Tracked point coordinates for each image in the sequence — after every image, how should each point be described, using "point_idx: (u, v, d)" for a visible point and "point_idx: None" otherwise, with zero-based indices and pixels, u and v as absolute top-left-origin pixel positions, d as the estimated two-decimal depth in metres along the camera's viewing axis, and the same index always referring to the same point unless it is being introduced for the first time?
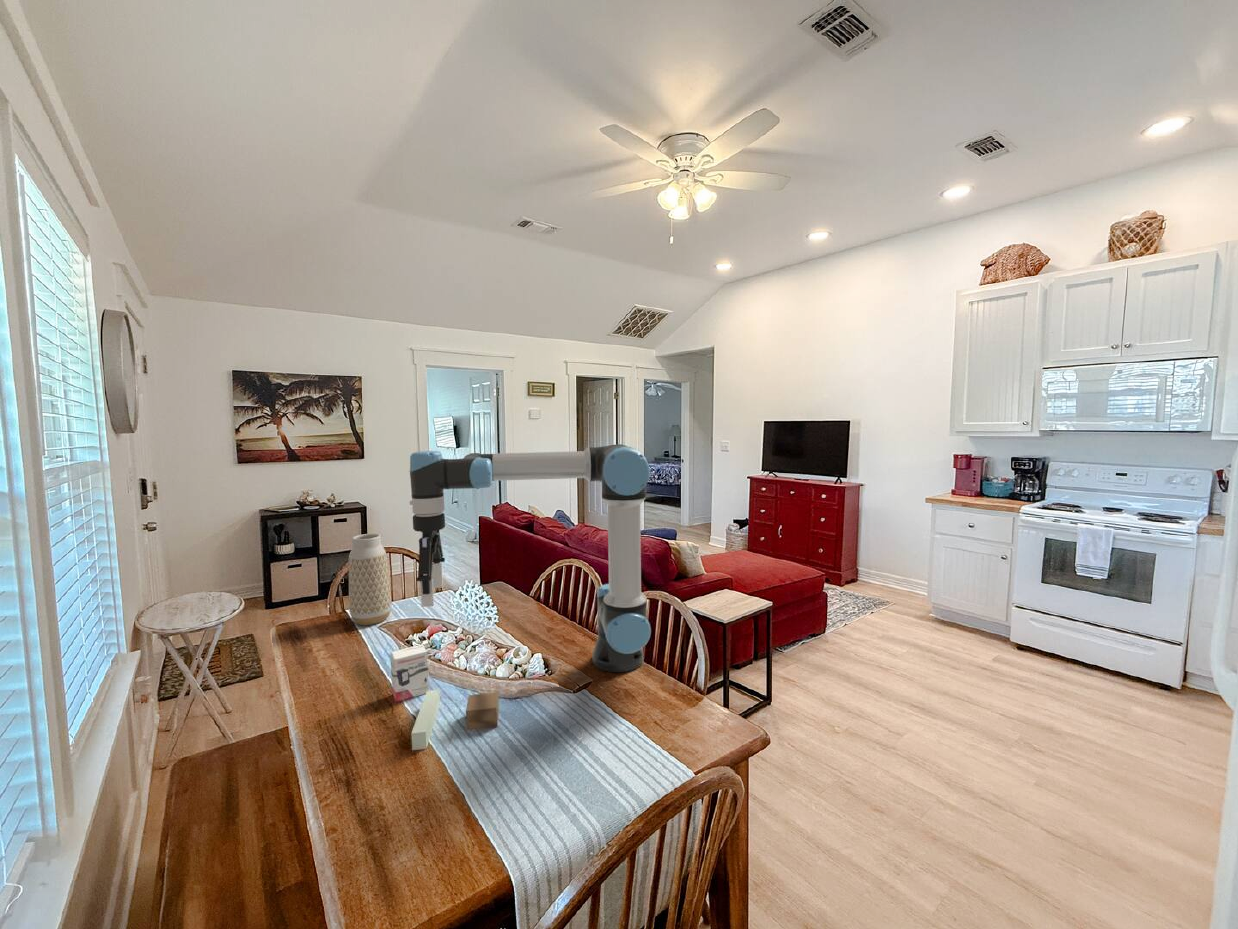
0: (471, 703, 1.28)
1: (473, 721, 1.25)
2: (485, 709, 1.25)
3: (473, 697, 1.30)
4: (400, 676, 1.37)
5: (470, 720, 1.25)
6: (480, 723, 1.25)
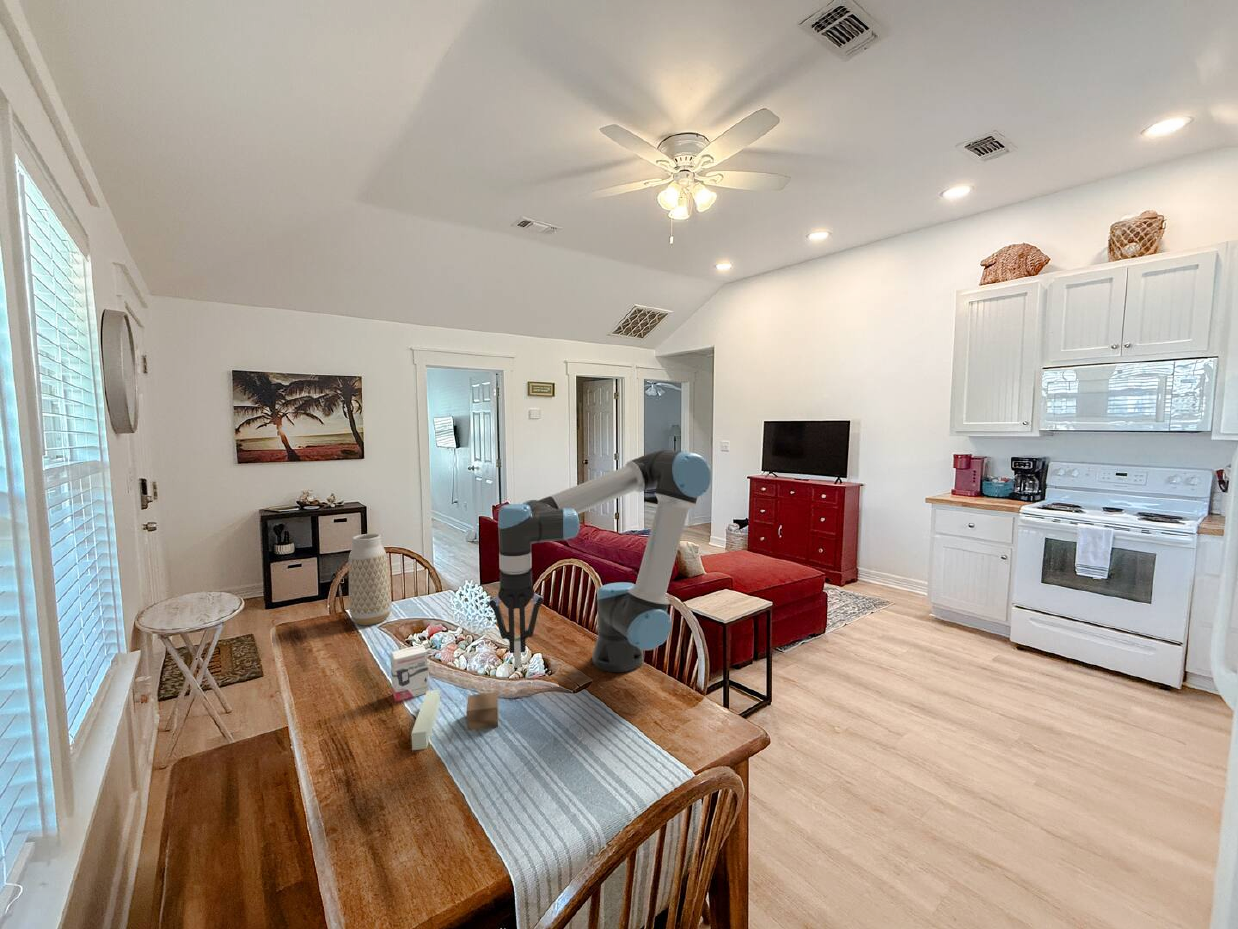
0: (471, 703, 1.28)
1: (474, 721, 1.25)
2: (486, 709, 1.25)
3: (473, 697, 1.30)
4: (400, 676, 1.37)
5: (471, 720, 1.25)
6: (481, 723, 1.25)
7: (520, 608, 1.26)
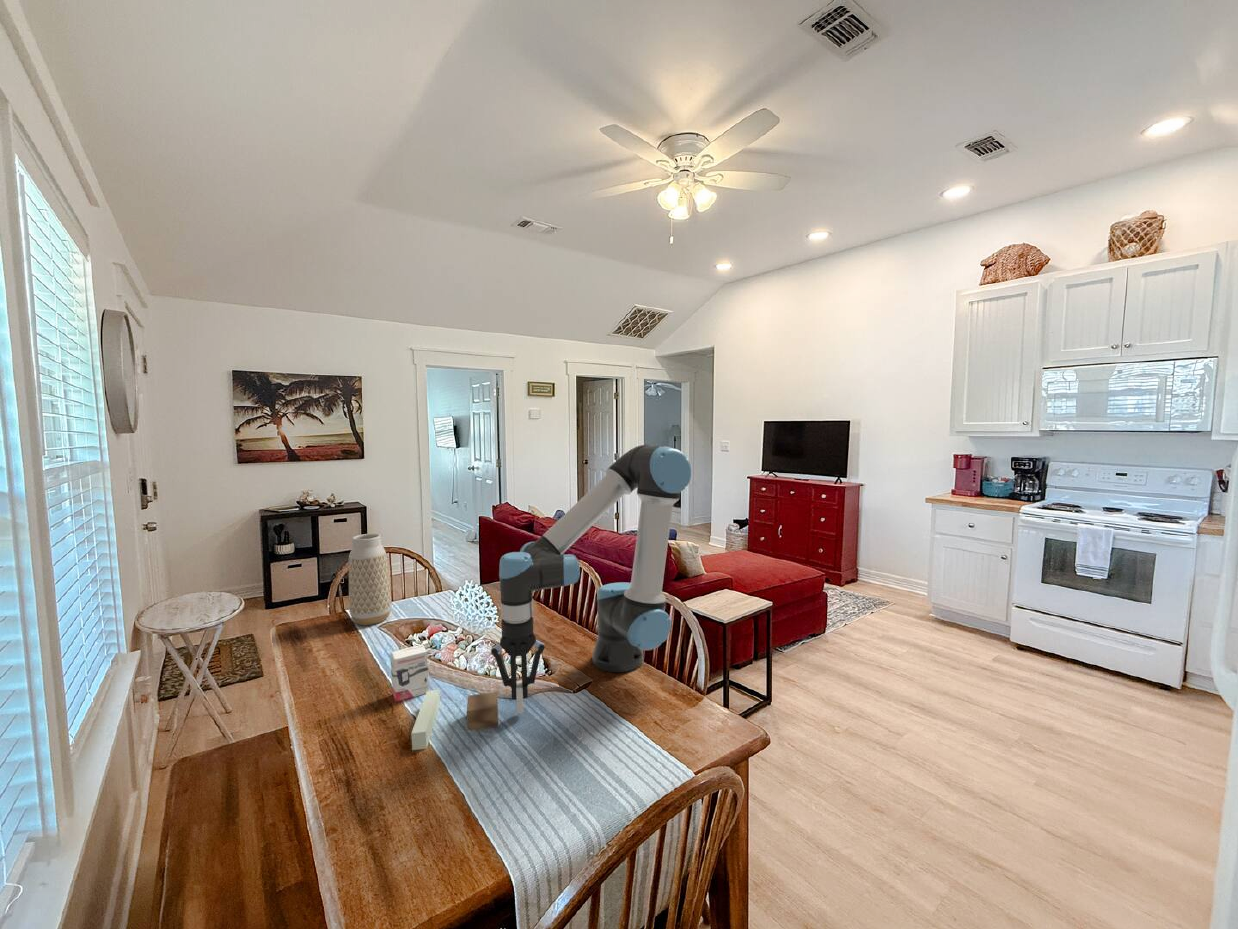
0: (471, 703, 1.28)
1: (474, 721, 1.25)
2: (486, 709, 1.25)
3: (472, 697, 1.30)
4: (400, 676, 1.37)
5: (471, 720, 1.25)
6: (481, 723, 1.25)
7: (522, 656, 1.27)
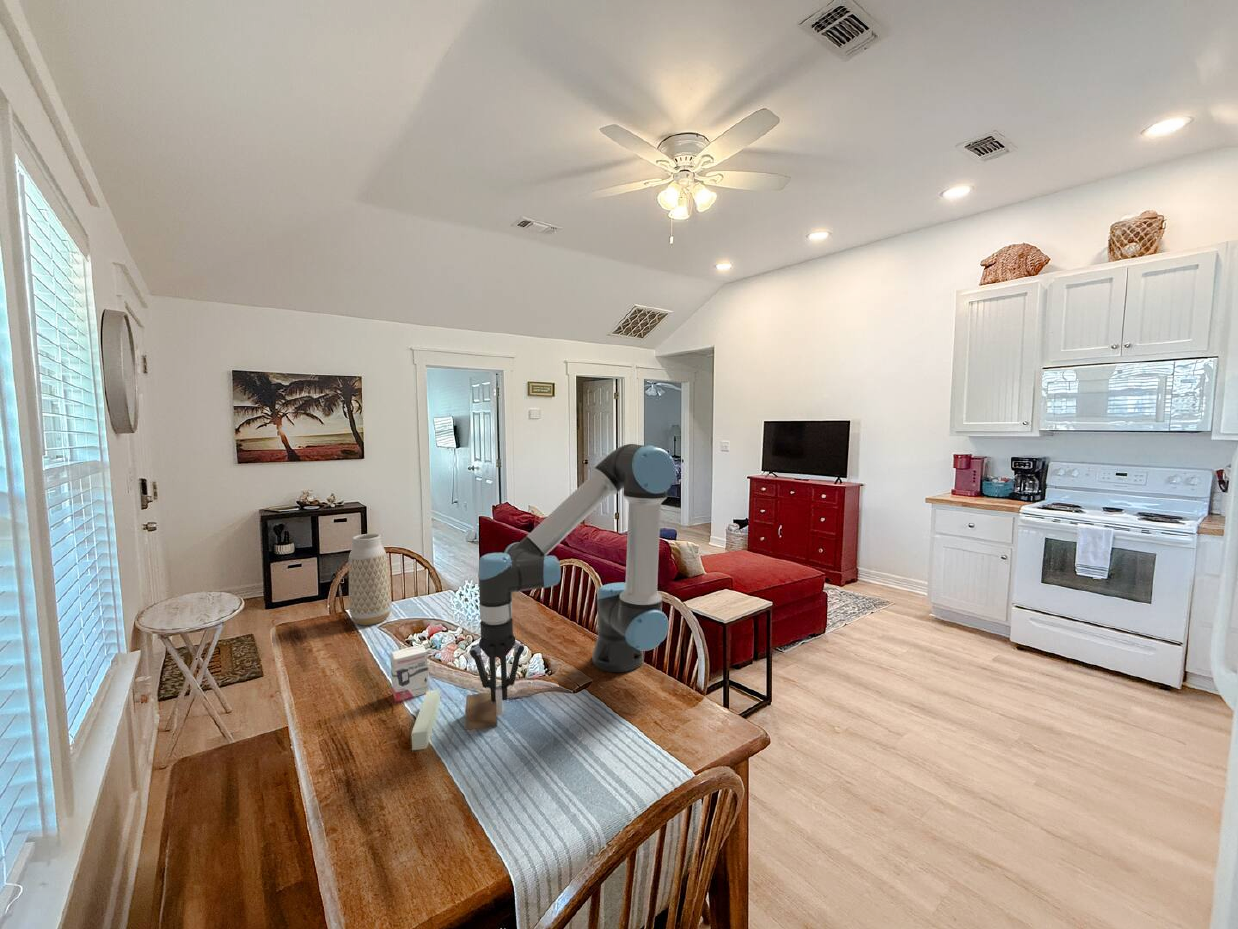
0: (470, 703, 1.28)
1: (472, 721, 1.25)
2: (485, 709, 1.25)
3: (471, 697, 1.30)
4: (400, 676, 1.37)
5: (470, 720, 1.25)
6: (480, 723, 1.25)
7: (501, 657, 1.26)
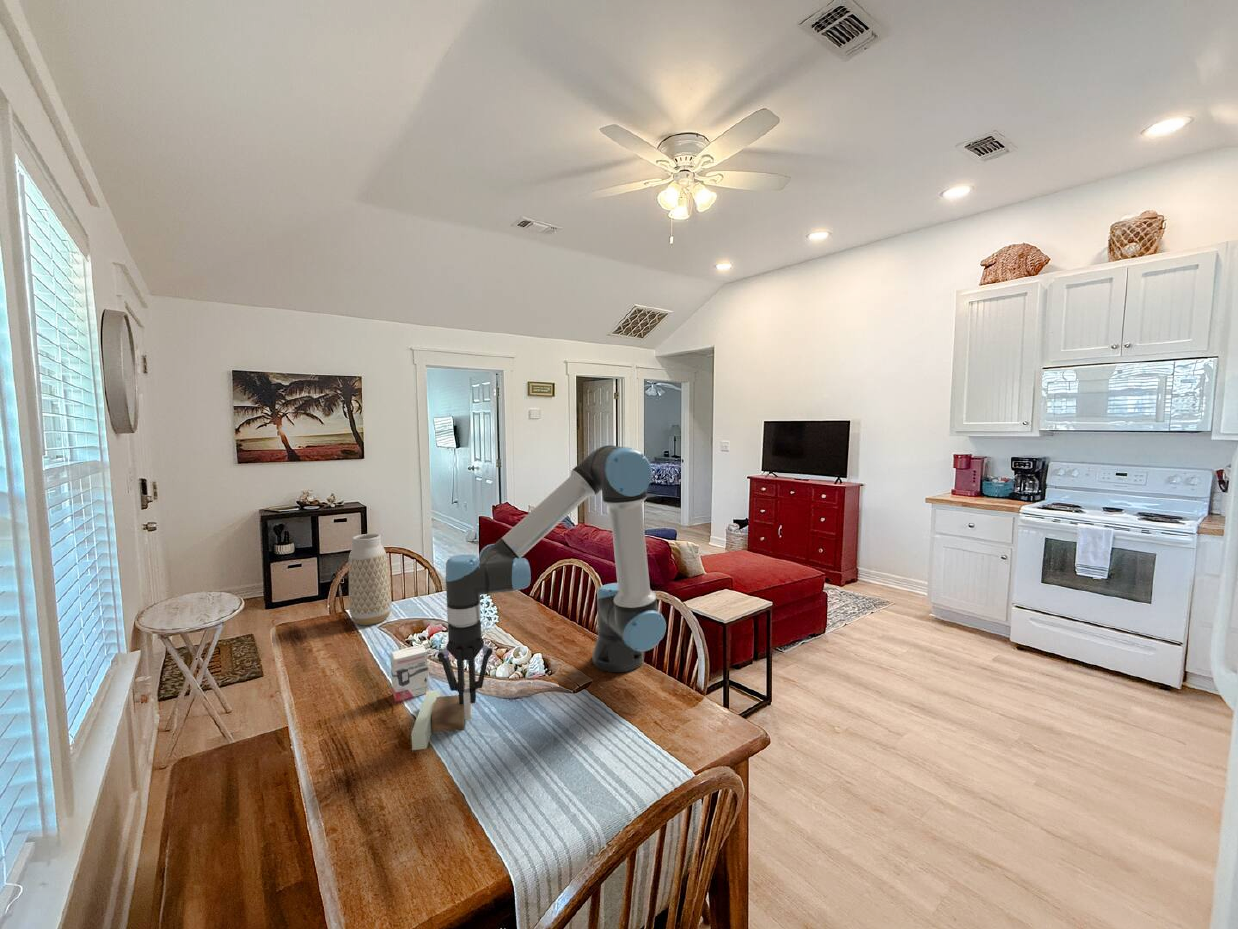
0: (438, 705, 1.27)
1: (439, 724, 1.24)
2: (452, 712, 1.24)
3: (441, 699, 1.29)
4: (400, 676, 1.37)
5: (436, 722, 1.24)
6: (446, 725, 1.24)
7: (469, 660, 1.25)
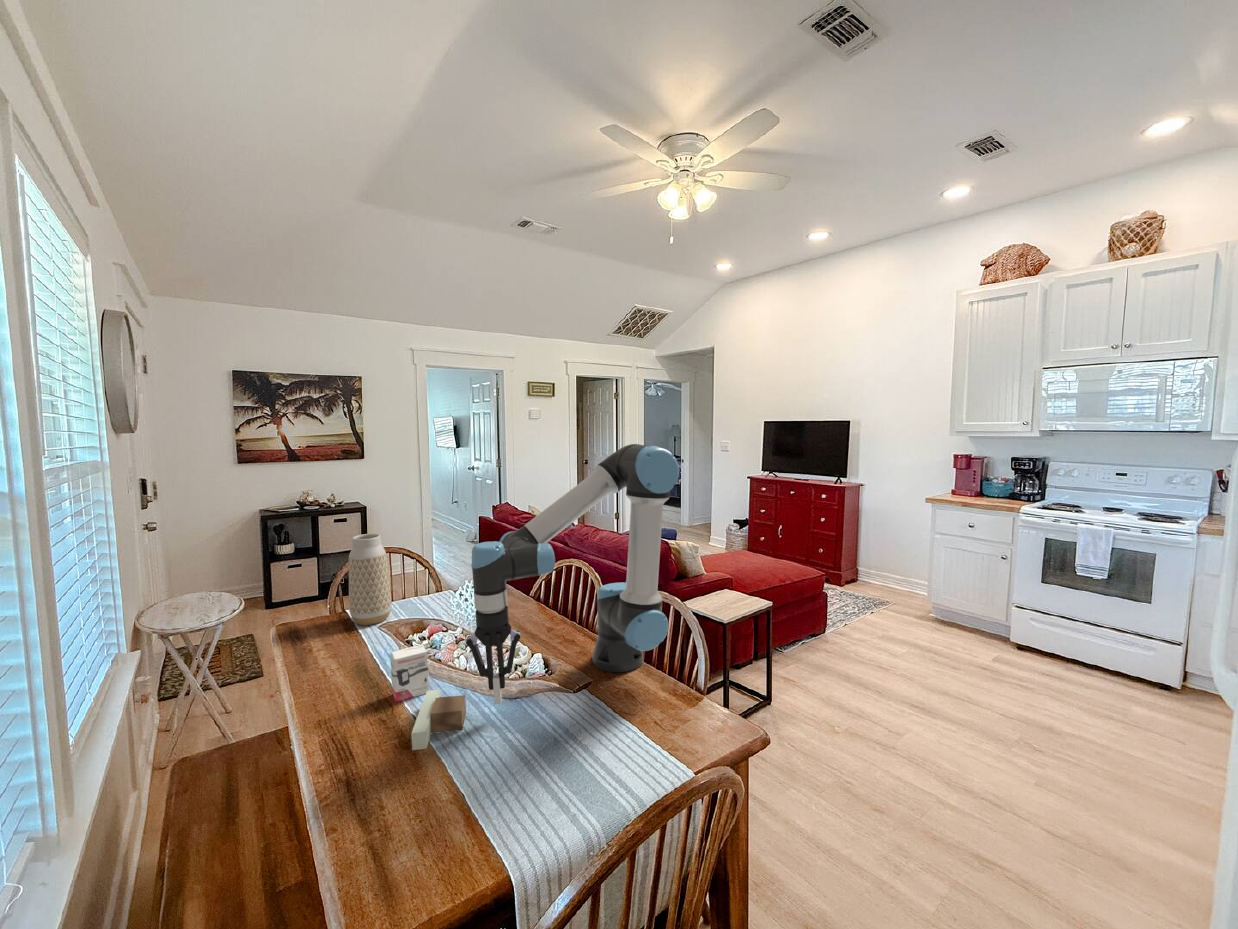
0: (437, 706, 1.27)
1: (438, 724, 1.24)
2: (450, 712, 1.24)
3: (439, 700, 1.29)
4: (400, 676, 1.37)
5: (435, 723, 1.24)
6: (445, 726, 1.24)
7: (497, 646, 1.26)
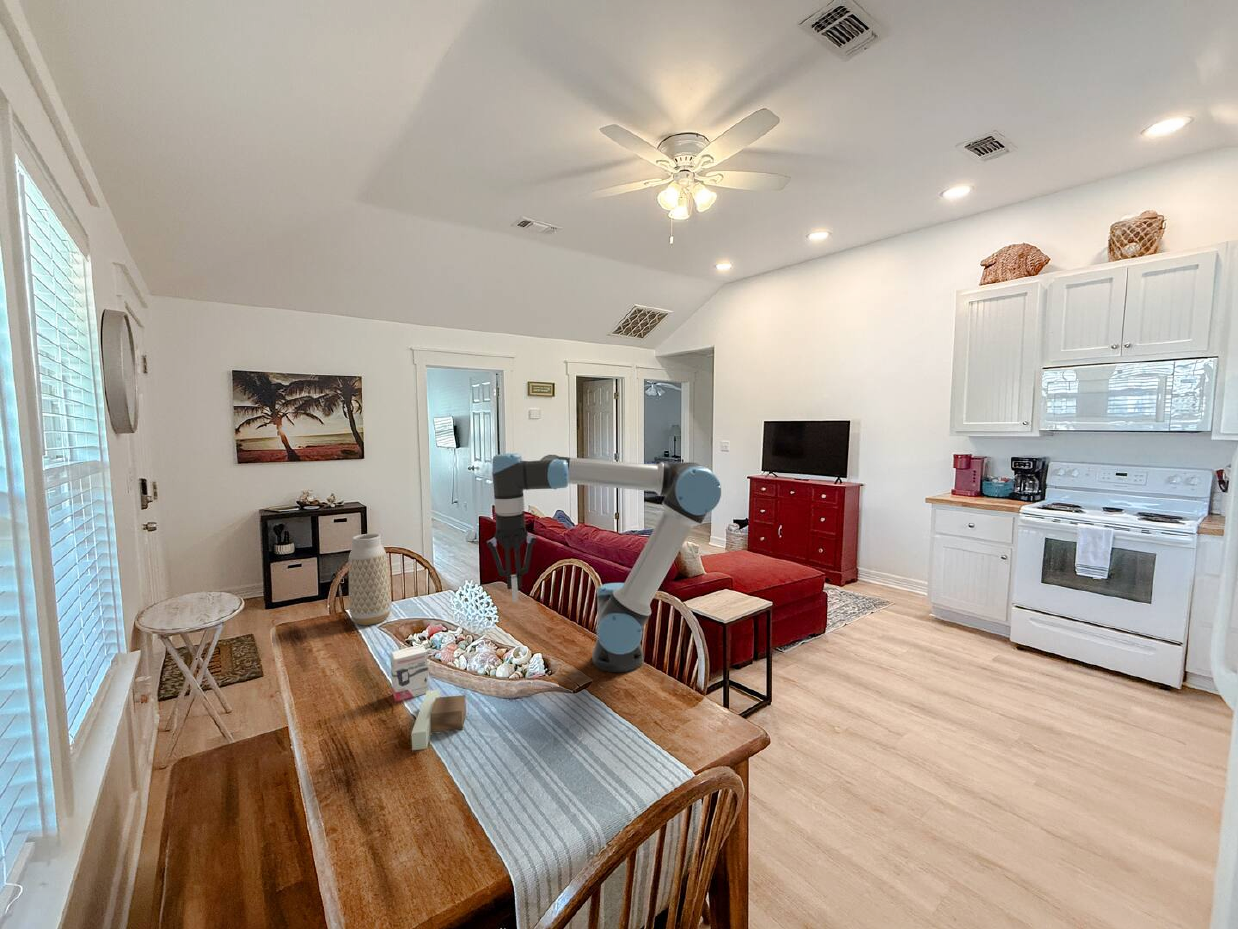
0: (437, 706, 1.27)
1: (438, 724, 1.24)
2: (450, 712, 1.24)
3: (439, 700, 1.29)
4: (400, 676, 1.37)
5: (435, 723, 1.24)
6: (445, 726, 1.24)
7: (515, 547, 1.39)
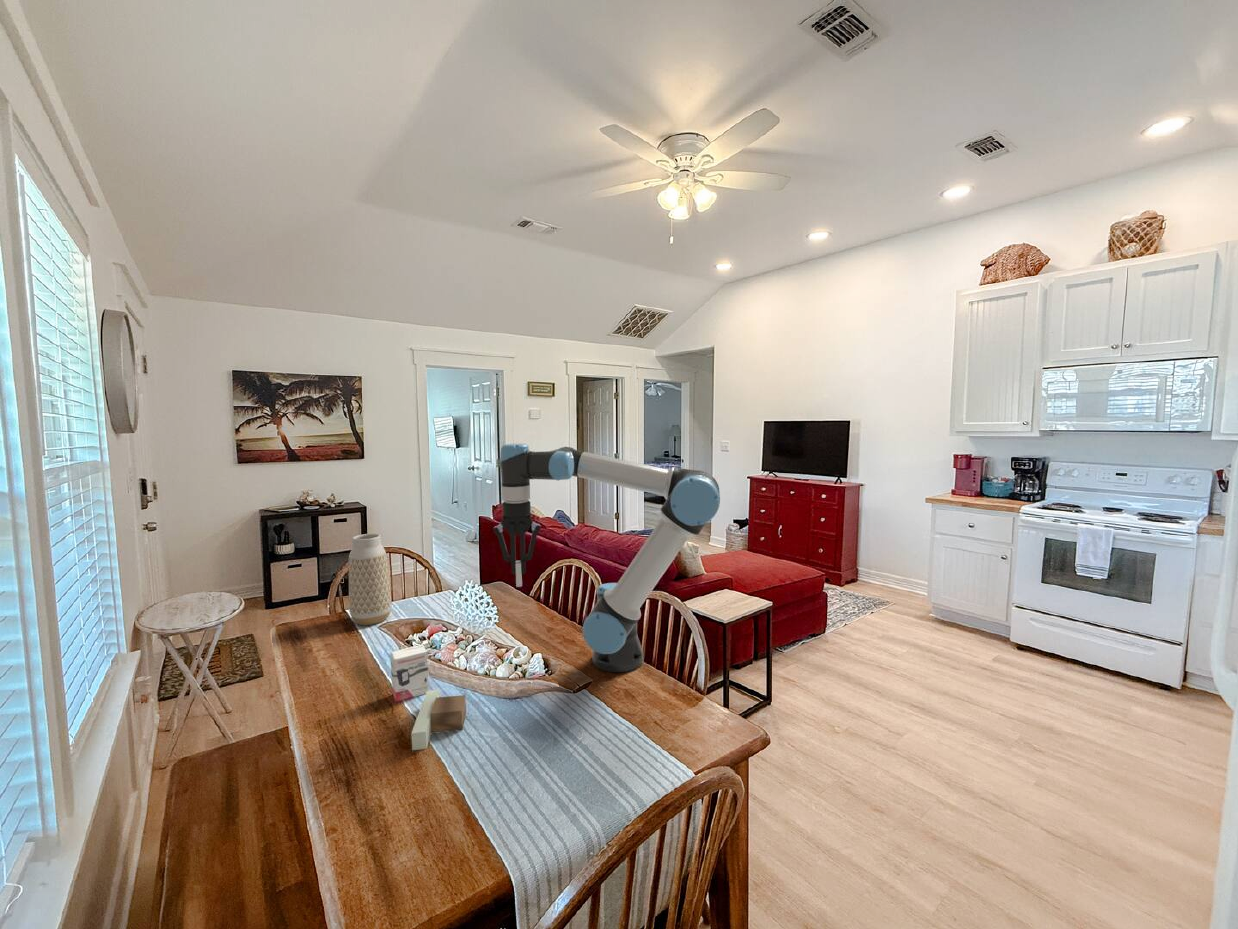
0: (437, 706, 1.27)
1: (438, 724, 1.24)
2: (450, 712, 1.24)
3: (440, 700, 1.29)
4: (400, 676, 1.37)
5: (435, 723, 1.24)
6: (445, 726, 1.24)
7: (520, 534, 1.44)
